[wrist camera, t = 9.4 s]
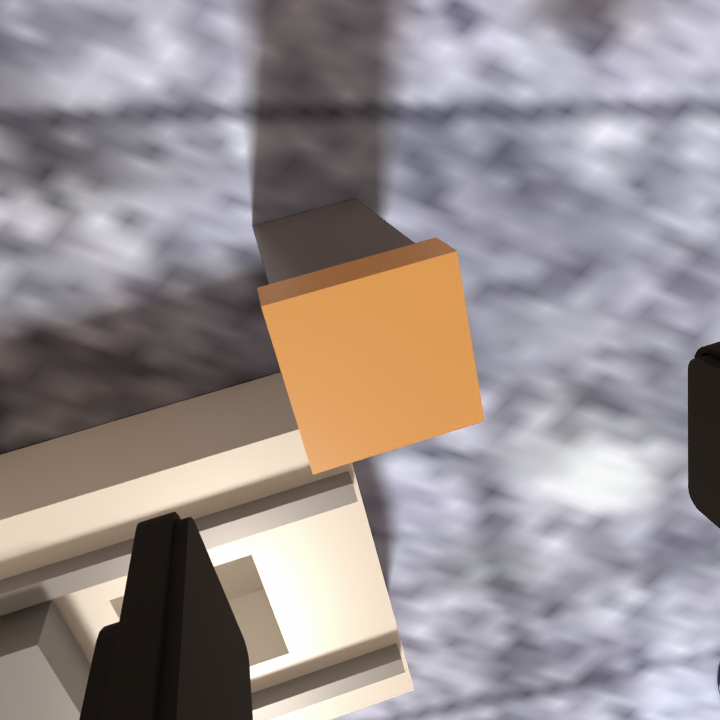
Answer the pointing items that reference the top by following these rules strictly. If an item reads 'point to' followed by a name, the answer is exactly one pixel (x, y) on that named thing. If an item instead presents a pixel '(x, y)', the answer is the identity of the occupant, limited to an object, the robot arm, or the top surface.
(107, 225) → the top surface
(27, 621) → the shutter
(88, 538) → the socket
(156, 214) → the top surface
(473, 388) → the plug
